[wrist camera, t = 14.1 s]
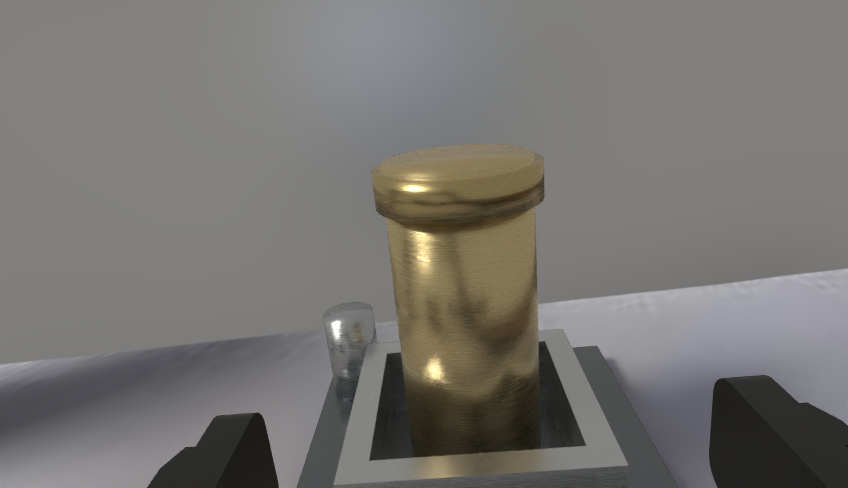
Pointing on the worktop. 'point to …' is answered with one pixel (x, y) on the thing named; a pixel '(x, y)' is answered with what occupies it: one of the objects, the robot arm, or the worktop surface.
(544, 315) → the worktop surface
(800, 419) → the robot arm
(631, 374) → the worktop surface
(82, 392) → the worktop surface
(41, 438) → the worktop surface
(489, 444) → the gold metal cylinder
